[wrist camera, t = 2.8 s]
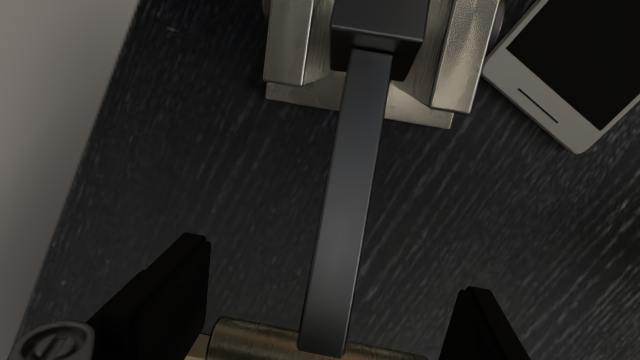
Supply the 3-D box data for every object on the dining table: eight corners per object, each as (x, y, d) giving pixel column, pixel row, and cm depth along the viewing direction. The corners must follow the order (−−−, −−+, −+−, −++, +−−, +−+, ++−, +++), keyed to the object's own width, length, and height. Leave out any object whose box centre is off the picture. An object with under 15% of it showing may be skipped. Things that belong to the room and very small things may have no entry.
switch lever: (410, 391, 10) (434, 439, 8) (221, 353, 10) (189, 388, 8) (465, 2, 12) (501, -59, 9) (300, -24, 12) (292, -89, 9)
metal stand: (445, 126, 22) (553, 206, 10) (270, 97, 22) (159, 136, 10) (485, -32, 19) (698, -197, 7) (288, -61, 20) (171, -261, 8)
